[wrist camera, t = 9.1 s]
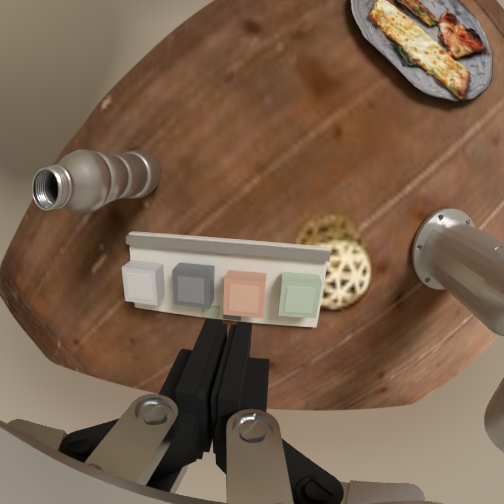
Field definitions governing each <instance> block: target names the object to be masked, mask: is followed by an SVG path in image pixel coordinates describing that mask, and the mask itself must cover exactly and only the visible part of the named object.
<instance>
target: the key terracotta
mask: <svg viewBox="0 0 504 504" xmlns="http://www.w3.org/2000/svg"><path fill="white" fill-rule="evenodd" d="M266 274H267V273H259V272H247V271H236V270H228V271H227V273H226V276H225V278H224V306H223V314H224V315H234V316H244V317H254V318H263V308H264V297H265V285H266Z"/></svg>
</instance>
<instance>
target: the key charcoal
mask: <svg viewBox="0 0 504 504" xmlns="http://www.w3.org/2000/svg"><path fill="white" fill-rule="evenodd" d="M214 272H215V266H211V265H201V264H190V263H180V262H179V263H178V264H177V265H176V266H175V268H174V269H173V270H172V279H173V300H174V305H181V306H189V307H197V308H205V309H210V307H211V305H212V303H213V300H214Z"/></svg>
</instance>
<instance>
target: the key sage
mask: <svg viewBox="0 0 504 504" xmlns="http://www.w3.org/2000/svg"><path fill="white" fill-rule="evenodd" d="M321 287H322V282H321V279H320V276H319V275H317V274H305V273H292V272H282V275H281V285H280V294H279V303H278V316H289V317H303V318H316V316H317V310H318V305H319V299H320V293H321Z"/></svg>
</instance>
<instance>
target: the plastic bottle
mask: <svg viewBox="0 0 504 504" xmlns="http://www.w3.org/2000/svg"><path fill="white" fill-rule="evenodd" d="M160 175H161V173H160V167H159V164H158V162H157V160H156V159H155V158H154V157H153V156H152V155H150V154H148V153H146V152H144V151H140V150H134V151H129V152H125V153H123V154H117V155H110V154H103V153H99V152H95V151H91V150H77V151H74V152H72V153H70V154H68V155H66V156H65V157H64V158H63V159H62V160H61V161H60V162H59V164H58V165H53V166H50V167H45V168H42V169H40V170H39V171H38V172H37V173H36V174H35V176H34V178H33V181H32V195H33V199H34V201H35V203H36V205H37V206H38V207H39V208H40V209H42V210H52V209H59V208H64V209H65V210H66V211H68V212H70V213H74V214H88V213H91V212H93V211H95V210H97V209H99V208H100V207H102V206H104V205H105V204H107V203H109V202H112V201H114V200H117V199H121V198H130V199H133V198H142V197H145V196H146V195H148V194H149V193H151V192H152V191H153V190H154V189H155V188H156V187H157V185H158V183H159V180H160Z"/></svg>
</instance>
